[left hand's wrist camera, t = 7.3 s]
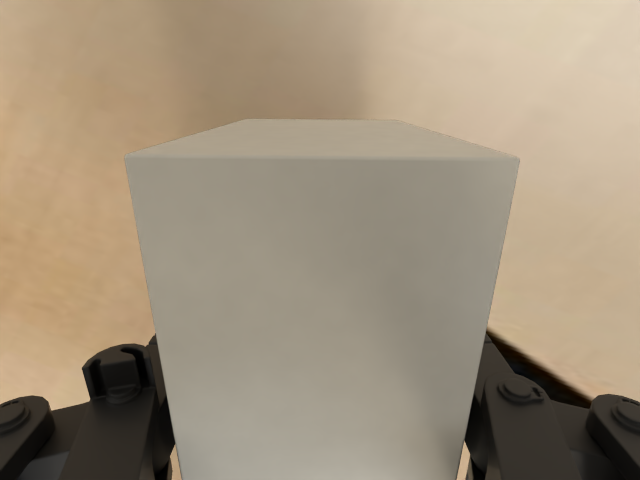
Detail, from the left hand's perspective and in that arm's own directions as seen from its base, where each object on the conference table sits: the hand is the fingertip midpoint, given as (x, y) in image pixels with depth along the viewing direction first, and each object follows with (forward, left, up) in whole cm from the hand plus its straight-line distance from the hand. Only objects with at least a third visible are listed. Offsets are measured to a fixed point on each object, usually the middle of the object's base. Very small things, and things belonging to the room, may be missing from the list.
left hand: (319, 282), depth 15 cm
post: (+7, +22, 0) cm, 23 cm away
